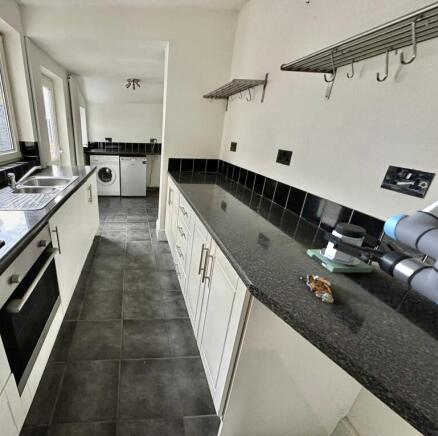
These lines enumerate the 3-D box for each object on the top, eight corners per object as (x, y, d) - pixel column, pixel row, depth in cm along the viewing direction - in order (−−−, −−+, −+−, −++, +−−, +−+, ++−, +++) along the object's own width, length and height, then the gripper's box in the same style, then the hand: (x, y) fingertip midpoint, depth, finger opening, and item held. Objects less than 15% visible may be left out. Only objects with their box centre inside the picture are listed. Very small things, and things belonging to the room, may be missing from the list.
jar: (346, 264, 82) (358, 233, 77) (321, 253, 89) (331, 224, 84) (358, 258, 86) (371, 229, 81) (333, 248, 93) (344, 221, 88)
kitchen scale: (340, 254, 95) (343, 249, 94) (370, 273, 83) (373, 267, 82) (305, 254, 94) (307, 249, 93) (330, 273, 82) (333, 268, 81)
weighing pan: (340, 249, 94) (341, 248, 93) (368, 266, 83) (369, 264, 82) (312, 249, 93) (313, 247, 93) (336, 266, 82) (337, 264, 81)
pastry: (318, 303, 68) (322, 293, 67) (298, 278, 79) (301, 269, 78) (344, 305, 67) (348, 296, 66) (320, 280, 78) (323, 271, 77)
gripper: (358, 278, 67) (308, 243, 87) (438, 278, 69) (370, 244, 88) (368, 256, 64) (314, 225, 84) (451, 257, 66) (379, 226, 85)
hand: (343, 235), depth 86 cm, fingers open, 13 cm apart
